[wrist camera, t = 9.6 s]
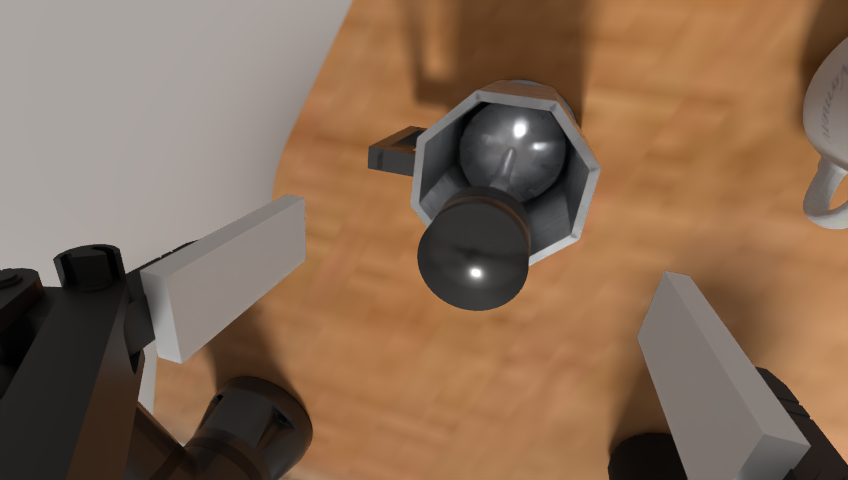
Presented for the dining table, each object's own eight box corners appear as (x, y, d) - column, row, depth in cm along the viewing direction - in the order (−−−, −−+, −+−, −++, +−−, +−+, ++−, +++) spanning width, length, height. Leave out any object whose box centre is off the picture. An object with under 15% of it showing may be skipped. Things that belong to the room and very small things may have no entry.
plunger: (455, 190, 34) (362, 325, 17) (469, 91, 31) (372, 133, 14) (550, 208, 33) (557, 377, 15) (577, 106, 29) (624, 175, 12)
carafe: (412, 185, 38) (355, 239, 27) (424, 66, 34) (362, 70, 22) (560, 213, 36) (568, 287, 24) (595, 88, 31) (624, 106, 20)
